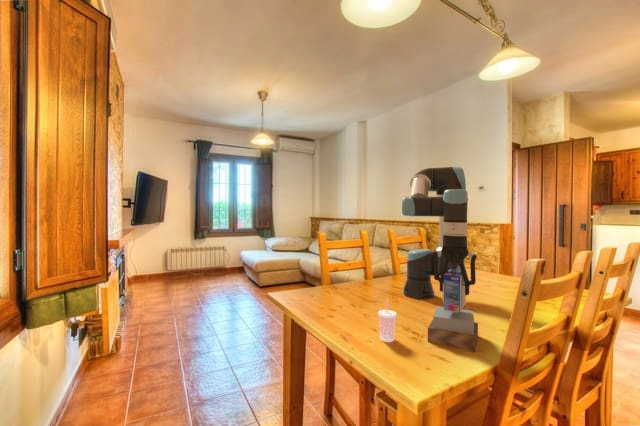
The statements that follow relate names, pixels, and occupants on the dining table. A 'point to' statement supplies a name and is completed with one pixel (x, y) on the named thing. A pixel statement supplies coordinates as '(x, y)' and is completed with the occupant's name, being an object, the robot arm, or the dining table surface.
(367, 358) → the dining table surface
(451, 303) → the ink cartridge box
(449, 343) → the walnut base slab
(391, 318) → the beverage cup
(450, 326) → the grey top slab
